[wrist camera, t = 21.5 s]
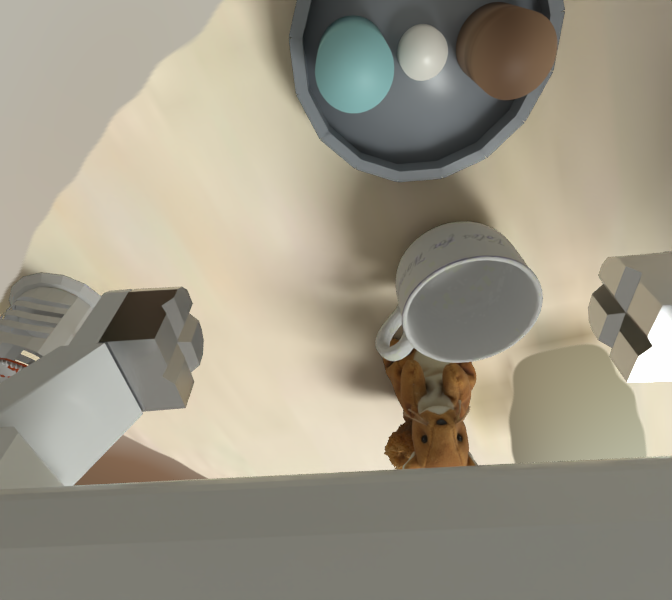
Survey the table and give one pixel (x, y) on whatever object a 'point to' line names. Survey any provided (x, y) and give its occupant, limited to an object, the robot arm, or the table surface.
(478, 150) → the groove tray
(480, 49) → the walnut bead
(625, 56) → the table surface
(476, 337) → the teacup
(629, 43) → the table surface
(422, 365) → the stuffed squirrel
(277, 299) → the table surface
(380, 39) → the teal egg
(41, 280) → the french press
